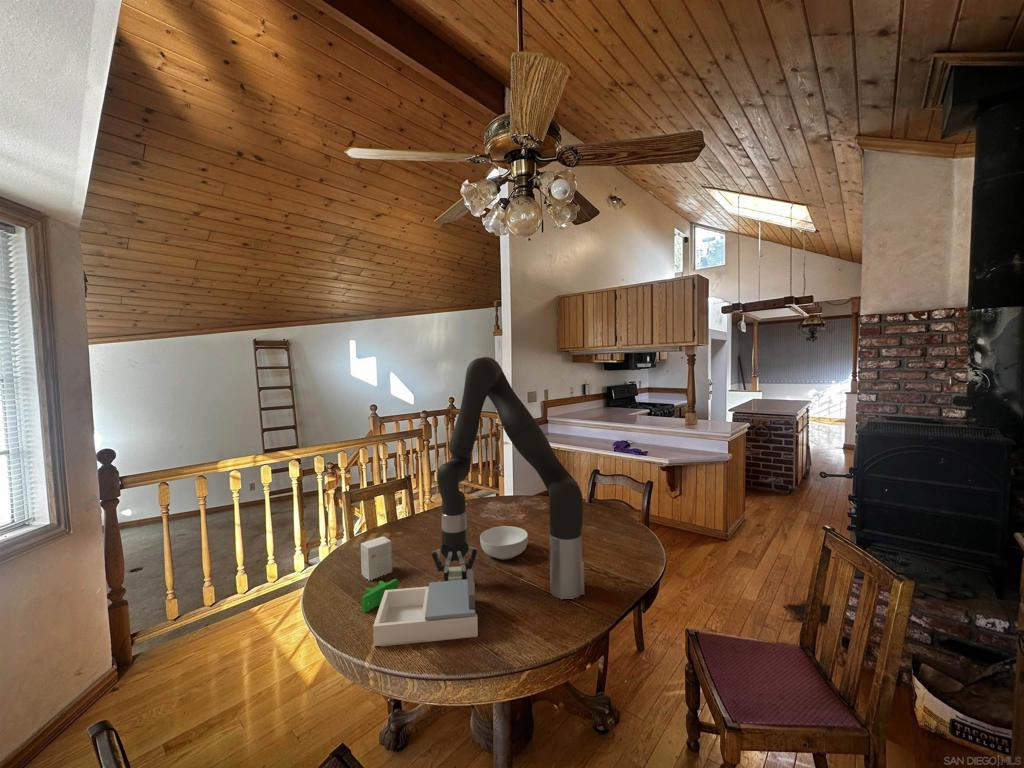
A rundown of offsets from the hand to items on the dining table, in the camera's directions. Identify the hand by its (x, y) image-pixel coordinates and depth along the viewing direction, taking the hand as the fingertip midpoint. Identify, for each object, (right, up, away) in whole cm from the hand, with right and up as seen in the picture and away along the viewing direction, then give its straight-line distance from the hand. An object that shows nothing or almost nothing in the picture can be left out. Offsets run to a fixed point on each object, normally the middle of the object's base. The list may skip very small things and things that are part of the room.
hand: (455, 582), depth 124 cm
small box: (-26, -1, +8) cm, 27 cm away
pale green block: (0, -1, 0) cm, 1 cm away
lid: (+1, +4, -17) cm, 18 cm away
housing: (-4, -2, -18) cm, 18 cm away
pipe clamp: (-21, -2, -8) cm, 22 cm away
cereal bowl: (+14, 0, +20) cm, 25 cm away
